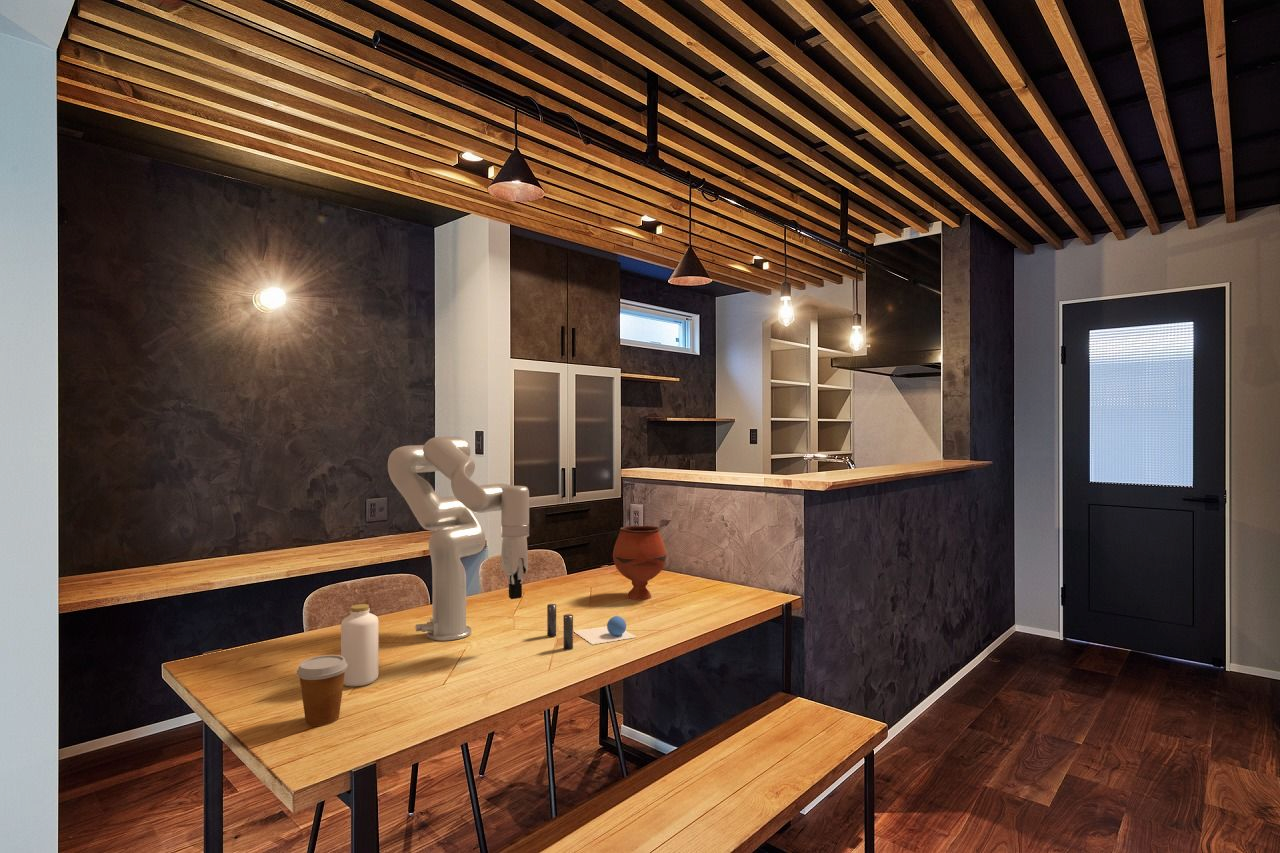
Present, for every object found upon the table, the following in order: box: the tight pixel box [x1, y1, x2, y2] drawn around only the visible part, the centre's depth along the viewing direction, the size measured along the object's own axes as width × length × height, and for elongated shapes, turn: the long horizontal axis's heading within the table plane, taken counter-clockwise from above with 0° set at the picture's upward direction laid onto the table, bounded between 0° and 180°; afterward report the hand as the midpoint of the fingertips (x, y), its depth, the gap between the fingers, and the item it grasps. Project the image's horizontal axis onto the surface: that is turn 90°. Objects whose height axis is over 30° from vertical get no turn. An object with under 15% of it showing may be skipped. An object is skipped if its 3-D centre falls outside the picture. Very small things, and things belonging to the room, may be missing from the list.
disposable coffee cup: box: [296, 654, 348, 727], centre depth 139 cm, size 10×10×12 cm
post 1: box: [546, 603, 557, 638], centre depth 195 cm, size 3×3×9 cm
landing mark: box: [573, 625, 638, 646], centre depth 196 cm, size 14×14×1 cm
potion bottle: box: [340, 603, 379, 688], centre depth 160 cm, size 8×8×18 cm
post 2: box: [563, 613, 574, 651], centre depth 183 cm, size 3×3×9 cm
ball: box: [606, 615, 627, 636], centre depth 195 cm, size 6×6×6 cm
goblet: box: [612, 525, 667, 601], centre depth 240 cm, size 19×19×25 cm
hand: (515, 597), depth 183 cm, fingers closed
